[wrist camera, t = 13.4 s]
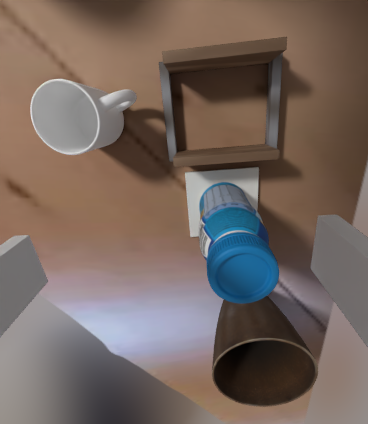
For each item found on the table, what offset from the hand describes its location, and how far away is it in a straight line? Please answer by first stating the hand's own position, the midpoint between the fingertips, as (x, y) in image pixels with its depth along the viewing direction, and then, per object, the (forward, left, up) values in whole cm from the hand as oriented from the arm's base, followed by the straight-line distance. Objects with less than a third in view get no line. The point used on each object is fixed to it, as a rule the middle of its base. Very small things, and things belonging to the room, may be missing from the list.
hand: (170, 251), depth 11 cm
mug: (-7, -12, -30) cm, 33 cm away
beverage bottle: (+8, +5, -29) cm, 31 cm away
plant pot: (+30, +9, -30) cm, 43 cm away
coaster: (+9, +5, -29) cm, 31 cm away
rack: (-6, +5, -29) cm, 30 cm away
